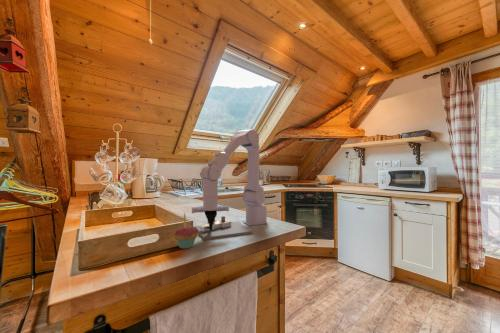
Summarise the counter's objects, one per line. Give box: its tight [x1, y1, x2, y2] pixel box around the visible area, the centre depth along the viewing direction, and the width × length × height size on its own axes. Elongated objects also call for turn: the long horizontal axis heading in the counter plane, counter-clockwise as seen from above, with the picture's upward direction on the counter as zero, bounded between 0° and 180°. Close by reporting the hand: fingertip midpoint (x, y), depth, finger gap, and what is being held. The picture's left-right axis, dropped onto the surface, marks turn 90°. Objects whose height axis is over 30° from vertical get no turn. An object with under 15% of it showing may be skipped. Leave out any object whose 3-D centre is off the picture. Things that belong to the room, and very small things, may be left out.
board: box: [194, 220, 254, 241], centre depth 97 cm, size 20×16×1 cm
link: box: [199, 219, 232, 232], centre depth 97 cm, size 14×5×2 cm, turn 136°
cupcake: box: [174, 212, 199, 249], centre depth 80 cm, size 9×8×12 cm
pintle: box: [220, 215, 226, 222], centre depth 100 cm, size 2×2×4 cm
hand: (210, 229), depth 92 cm, fingers closed, pressing on link
